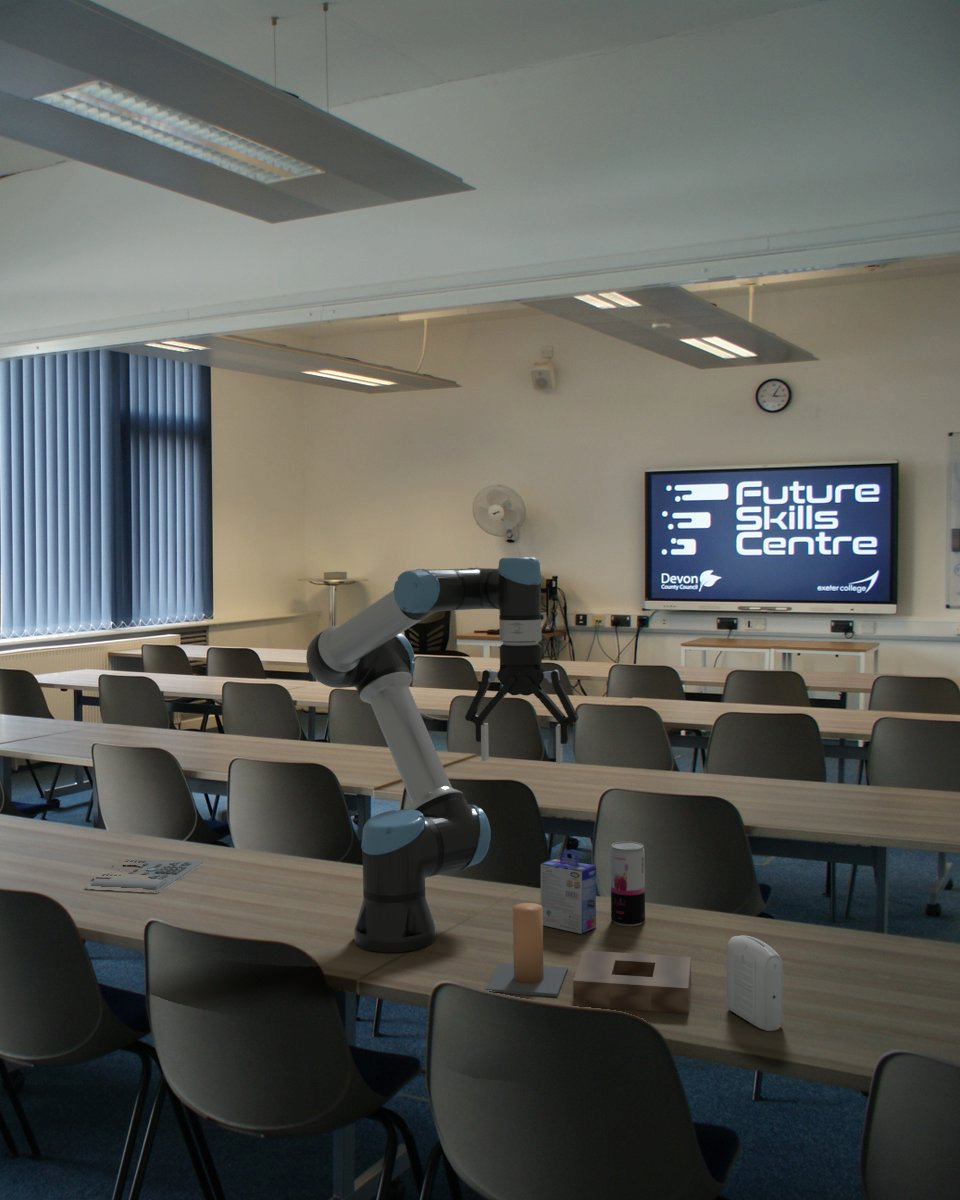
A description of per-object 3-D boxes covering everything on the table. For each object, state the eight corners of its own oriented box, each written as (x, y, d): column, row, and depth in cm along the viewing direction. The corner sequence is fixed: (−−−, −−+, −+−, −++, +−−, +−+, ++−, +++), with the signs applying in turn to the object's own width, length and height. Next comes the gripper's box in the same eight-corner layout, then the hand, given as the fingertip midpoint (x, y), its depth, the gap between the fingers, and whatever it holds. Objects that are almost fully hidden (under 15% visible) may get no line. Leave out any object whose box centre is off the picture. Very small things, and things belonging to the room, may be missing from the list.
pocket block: (573, 1005, 180) (573, 980, 180) (584, 973, 193) (584, 950, 193) (688, 1013, 176) (688, 988, 176) (691, 980, 190) (691, 957, 189)
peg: (511, 982, 189) (510, 911, 188) (517, 971, 193) (516, 902, 193) (540, 984, 187) (539, 913, 187) (545, 973, 192) (544, 903, 192)
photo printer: (787, 1028, 170) (787, 947, 170) (764, 1033, 168) (764, 951, 168) (745, 1004, 179) (744, 927, 179) (722, 1009, 178) (722, 931, 177)
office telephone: (158, 885, 243) (73, 881, 247) (159, 897, 244) (73, 893, 247) (203, 855, 266) (125, 852, 270) (204, 866, 266) (125, 863, 270)
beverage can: (622, 928, 216) (621, 851, 216) (605, 919, 222) (604, 843, 222) (651, 924, 219) (650, 847, 218) (633, 914, 225) (633, 839, 224)
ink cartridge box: (598, 927, 217) (597, 853, 217) (582, 935, 213) (582, 859, 212) (555, 918, 223) (554, 845, 223) (539, 925, 219) (538, 851, 218)
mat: (485, 991, 186) (485, 988, 186) (499, 965, 198) (499, 963, 198) (557, 996, 183) (557, 993, 183) (567, 970, 195) (567, 967, 195)
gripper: (447, 644, 202) (449, 762, 202) (587, 645, 196) (588, 766, 197) (457, 641, 209) (459, 755, 210) (592, 641, 204) (593, 758, 204)
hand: (522, 761), depth 203 cm, fingers open, 13 cm apart
